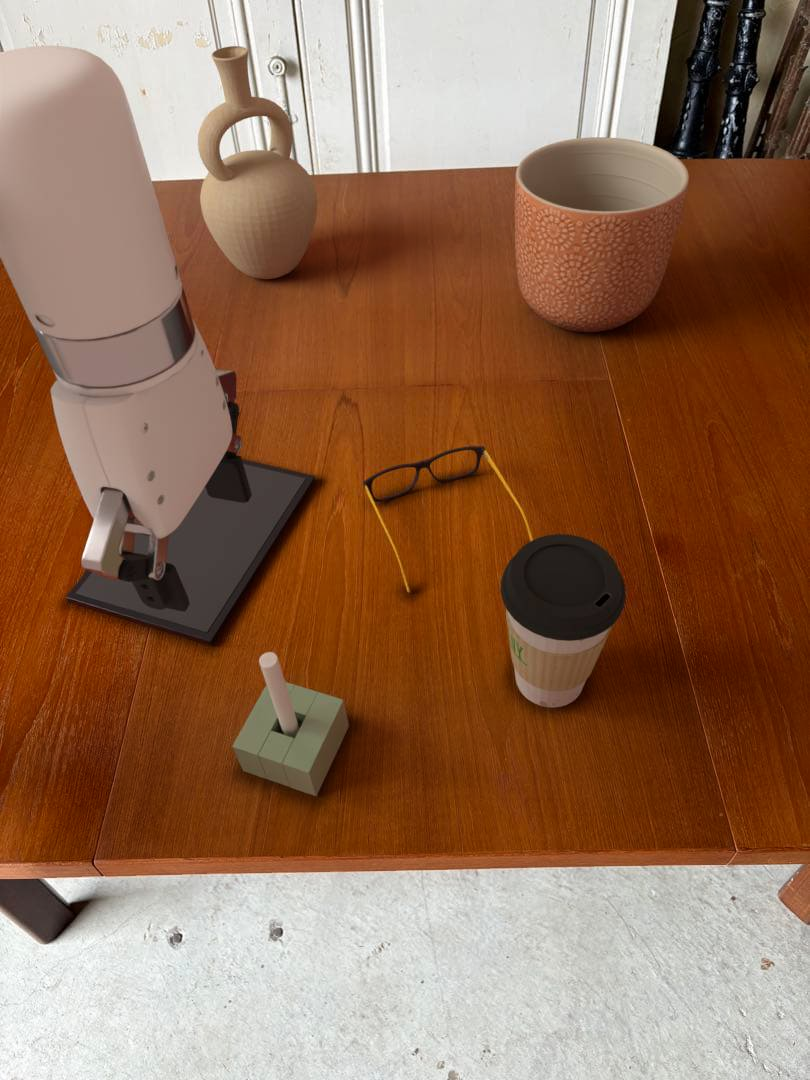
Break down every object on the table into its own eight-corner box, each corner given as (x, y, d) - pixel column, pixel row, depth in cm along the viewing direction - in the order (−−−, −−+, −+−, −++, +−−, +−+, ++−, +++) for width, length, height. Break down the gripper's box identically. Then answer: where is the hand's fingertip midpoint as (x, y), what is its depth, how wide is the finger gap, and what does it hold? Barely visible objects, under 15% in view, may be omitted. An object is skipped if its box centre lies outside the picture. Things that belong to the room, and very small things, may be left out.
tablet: (68, 602, 83) (64, 596, 83) (188, 451, 98) (186, 445, 97) (212, 646, 79) (210, 640, 78) (316, 481, 93) (314, 475, 93)
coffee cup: (541, 616, 79) (554, 509, 68) (626, 676, 74) (655, 572, 63) (473, 679, 75) (475, 576, 64) (558, 747, 70) (576, 649, 59)
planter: (690, 329, 109) (725, 189, 95) (550, 368, 105) (564, 228, 91) (612, 257, 122) (632, 124, 108) (485, 288, 118) (488, 155, 104)
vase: (254, 310, 118) (205, 87, 95) (198, 267, 127) (142, 53, 104) (347, 268, 124) (321, 49, 102) (287, 230, 133) (252, 21, 111)
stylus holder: (242, 771, 70) (231, 746, 67) (279, 703, 74) (270, 676, 71) (316, 796, 68) (308, 772, 65) (349, 725, 72) (343, 699, 69)
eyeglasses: (480, 465, 94) (480, 439, 91) (536, 553, 84) (539, 527, 81) (363, 500, 91) (359, 474, 88) (408, 595, 82) (406, 569, 79)
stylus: (286, 752, 71) (255, 664, 60) (293, 738, 72) (264, 649, 61) (300, 757, 70) (272, 669, 60) (307, 743, 71) (280, 654, 61)
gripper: (135, 238, 48) (205, 454, 61) (-49, 427, 37) (83, 640, 50) (252, 250, 46) (299, 469, 59) (94, 451, 35) (193, 666, 48)
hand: (200, 547), depth 54 cm, fingers open, 9 cm apart
